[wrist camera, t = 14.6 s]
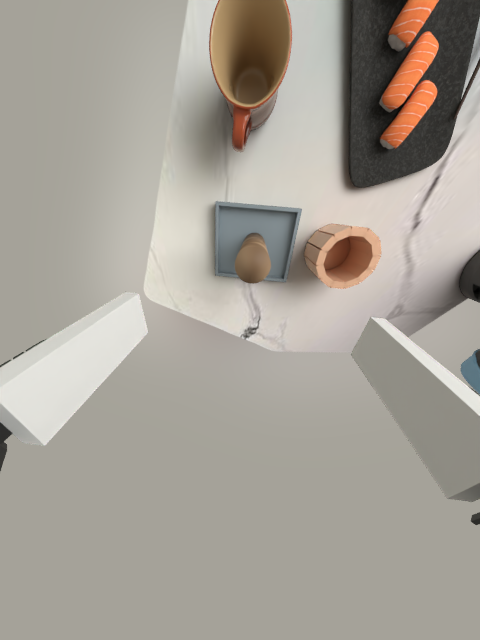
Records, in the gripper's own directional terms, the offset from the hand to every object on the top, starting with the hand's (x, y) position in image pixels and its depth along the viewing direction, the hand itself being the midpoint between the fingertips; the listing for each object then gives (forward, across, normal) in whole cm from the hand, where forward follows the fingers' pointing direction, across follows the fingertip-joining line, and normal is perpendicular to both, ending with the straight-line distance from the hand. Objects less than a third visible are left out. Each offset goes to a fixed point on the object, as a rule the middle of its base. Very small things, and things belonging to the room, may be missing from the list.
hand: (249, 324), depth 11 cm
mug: (+33, +3, -19) cm, 38 cm away
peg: (+32, 0, 0) cm, 32 cm away
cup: (+32, -16, 0) cm, 36 cm away
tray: (+32, 0, 0) cm, 32 cm away
